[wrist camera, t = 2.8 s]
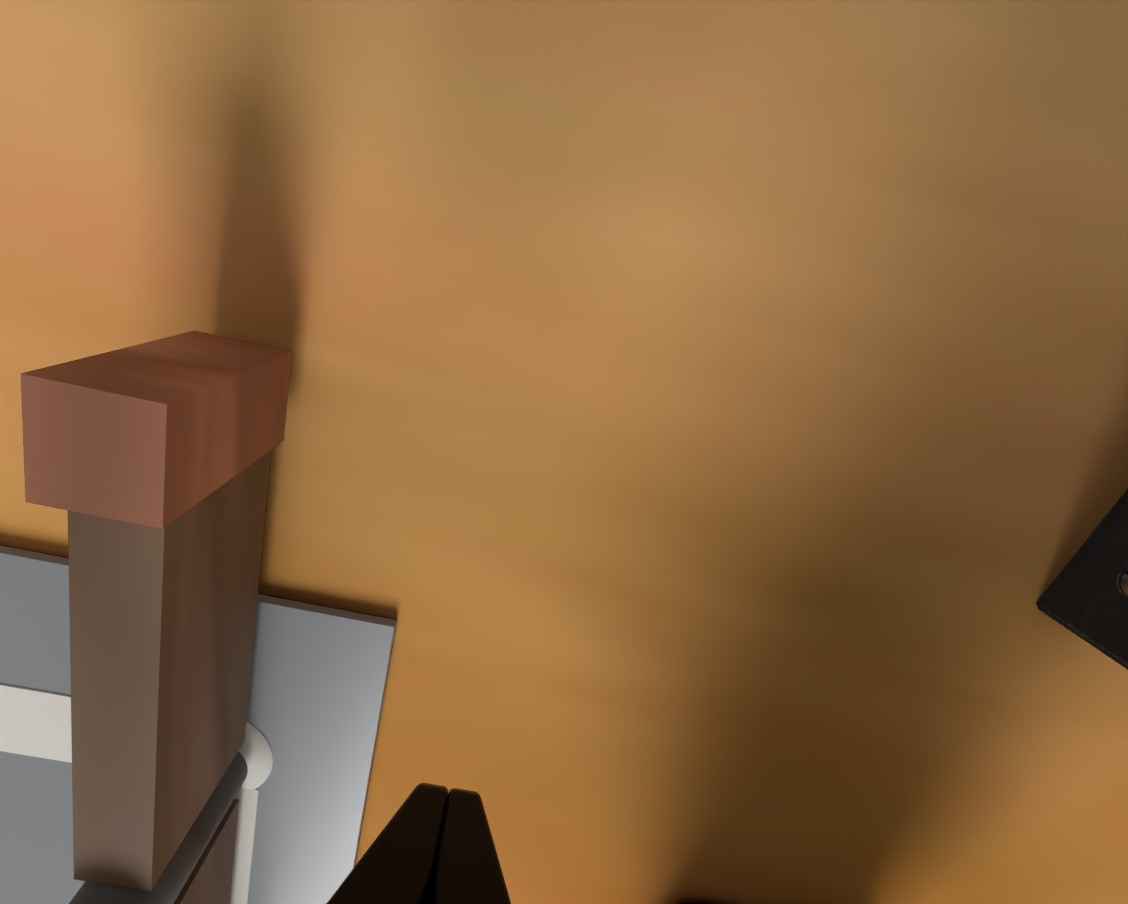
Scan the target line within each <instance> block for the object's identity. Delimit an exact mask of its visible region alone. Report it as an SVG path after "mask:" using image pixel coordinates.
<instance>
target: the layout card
mask: <svg viewBox="0 0 1128 904" xmlns="http://www.w3.org/2000/svg"><path fill="white" fill-rule="evenodd" d="M396 624H397V620H392V619H387V618H382V617H376V616H371V615H366V614H361V613H355V612H350V611H345V610H339V609H334V608H329V607H324V606H318V605H313V604H308V603H302V602H297V601H292V600H287V599H281V598H276V597H271V596H265V595H260V594H258V598H257V609H256V620H255V631H254V642H253V653H252V664H251V675H250V686H249V697H248V709H247V720H246V731H245V741H244V743H243V745H242V746H241V748H240V749H239V752H240V753H241V754H242V755H243V757H244V759H245V761H246V763H247V768H248V772H247V776H246V779H245V781H244V782H243V784H242V786H241V788H240V789H239V791H238V793H237V794H236V796H235V798H234V799H239V808H238V819H237V830H236V841H235V852H234V863H233V874H232V885H231V897H230V904H327V902H328V901H329V900H330V898H331V897H332V896H333V894H334V893H335V892H336V891H337V889H338V888H339V887H340V885H341V884H342V883H343V881H344V880H345V879H346V877H347V876H348V875H349V874H350V872H351V871H352V870H353V868H354V867H355V862H356V857H357V851H358V845H359V839H360V833H361V827H362V822H363V816H364V810H365V804H366V798H367V792H368V787H369V781H370V775H371V769H372V763H373V758H374V752H375V746H376V740H377V734H378V728H379V723H380V717H381V711H382V705H383V699H384V693H385V688H386V682H387V676H388V670H389V664H390V659H391V653H392V647H393V641H394V635H395V629H396ZM84 882H85V881H81V880H74V860H73V799H72V738H71V677H70V615H69V558H65V557H59V556H54V555H49V554H43V553H38V552H33V551H28V550H22V549H17V548H12V547H6V546H1V545H0V904H69V903H70V901H71V900H72V899H73V897H74V896H75V895H76V893H77V892H78V891H79V889H80V888H81V886H82V885H83V884H84Z"/></svg>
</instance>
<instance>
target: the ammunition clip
mask: <svg viewBox="0 0 1128 904" xmlns="http://www.w3.org/2000/svg"><path fill="white" fill-rule="evenodd" d="M1036 604H1037V607H1038V609H1039V610H1041V611H1042V612H1044V613H1045V614H1046V615H1048V616H1049V617H1051V618H1052V619H1054V620H1055V621H1057V622H1058V623H1060V624H1061V625H1063V626H1064V627H1066V628H1067V629H1069V630H1070V631H1072V632H1073V633H1074V634H1076V635H1077V636H1079V637H1080V638H1082V639H1083V640H1085V641H1086V642H1088V643H1089V644H1091V645H1092V646H1094V647H1095V648H1097V649H1098V650H1100V651H1101V652H1103V653H1104V654H1105V655H1107V656H1108V657H1110V658H1111V659H1113V660H1114V661H1116V662H1117V663H1119V664H1120V665H1122V666H1123V667H1125V668H1126V669H1128V489H1127V490H1126V492H1125V493H1124V494H1123V495H1122V497H1121V498H1120V499H1119V500H1118V502H1117V503H1116V504H1115V505H1114V507H1113V508H1112V509H1111V510H1110V512H1109V513H1108V514H1107V515H1106V517H1105V518H1104V519H1103V520H1102V522H1101V523H1100V524H1099V525H1098V526H1097V528H1096V529H1095V530H1094V531H1093V533H1092V534H1091V535H1090V536H1089V538H1088V539H1087V540H1086V541H1085V543H1084V544H1083V545H1082V546H1081V548H1080V549H1079V550H1078V551H1077V553H1076V554H1075V555H1074V556H1073V558H1072V559H1071V560H1070V561H1069V562H1068V564H1067V565H1066V566H1065V567H1064V569H1063V570H1062V571H1061V572H1060V574H1059V575H1058V576H1057V577H1056V579H1055V580H1054V581H1053V582H1052V584H1051V585H1050V586H1049V587H1048V589H1047V590H1046V591H1045V592H1044V594H1043V595H1042V596H1041V597H1040V599H1039V600H1038V601H1037V602H1036Z"/></svg>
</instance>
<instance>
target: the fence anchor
mask: <svg viewBox="0 0 1128 904" xmlns="http://www.w3.org/2000/svg"><path fill="white" fill-rule="evenodd" d="M247 772H248V768H247V763H246V761H245V759H244V757H243V755H242V754H241V753H240V752H239V751H238V753H237V754H236V756H235V757H234V759H233V761H232V762H231V764H230V765H229V767H228V769H227V770H226V772H225V774H224V775H223V777H222V778H221V780H220V782H219V783H218V785H217V786H216V788H215V790H214V791H213V793H212V794H211V796H210V798H209V799H208V801H207V802H206V804H205V806H204V807H203V809H202V810H201V812H200V814H199V815H198V817H197V818H196V820H195V822H194V823H193V825H192V826H191V828H190V830H189V831H188V833H187V834H186V836H185V838H184V839H183V841H182V842H181V844H180V846H179V847H178V849H177V851H176V852H175V854H174V855H173V857H172V859H171V860H170V862H169V863H168V865H167V867H166V868H165V870H164V871H163V873H162V875H161V876H160V878H159V879H158V881H157V883H156V884H155V886H154V887H153V889H152V891H148V890H142V889H135V888H128V887H121V886H115V885H108V884H101V883H95V882H88V881H85V882H84V884H83V885H82V886H81V888H80V889H79V891H78V892H77V893H76V895H75V896H74V897H73V899H72V900H71V901H70V903H69V904H230V897H231V885H232V874H233V863H234V852H235V841H236V830H237V819H238V808H239V799H234V798H235V796H236V794H237V793H238V791H239V789H240V788H241V786H242V784H243V782H244V781H245V779H246V776H247Z"/></svg>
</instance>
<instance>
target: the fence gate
mask: <svg viewBox="0 0 1128 904" xmlns="http://www.w3.org/2000/svg"><path fill="white" fill-rule="evenodd" d="M291 357H292V352H289V351H284V350H280V349H275V348H271V347H266V346H262V345H257V344H253V343H248V342H244V341H239V340H235V339H230V338H225V337H221V336H216V335H212V334H207V333H203V332H198V331H192V332H188V333H184V334H180V335H176V336H171V337H167V338H163V339H159V340H155V341H151V342H147V343H143V344H139V345H135V346H131V347H127V348H123V349H119V350H115V351H111V352H106V353H102V354H98V355H94V356H90V357H86V358H82V359H78V360H74V361H70V362H66V363H62V364H58V365H54V366H50V367H46V368H42V369H37V370H33V371H29V372H25V373H21V394H22V420H23V446H24V471H25V497H26V502H28V503H33V504H38V505H44V506H49V507H54V508H59V509H64V510H68V554H69V615H70V677H71V738H72V799H73V860H74V880H81V881H88V882H95V883H101V884H108V885H115V886H121V887H128V888H135V889H142V890H148V891H152V889H153V887H154V886H155V884H156V883H157V881H158V879H159V878H160V876H161V875H162V873H163V871H164V870H165V868H166V867H167V865H168V863H169V862H170V860H171V859H172V857H173V855H174V854H175V852H176V851H177V849H178V847H179V846H180V844H181V842H182V841H183V839H184V838H185V836H186V834H187V833H188V831H189V830H190V828H191V826H192V825H193V823H194V822H195V820H196V818H197V817H198V815H199V814H200V812H201V810H202V809H203V807H204V806H205V804H206V802H207V801H208V799H209V798H210V796H211V794H212V793H213V791H214V790H215V788H216V786H217V785H218V783H219V782H220V780H221V778H222V777H223V775H224V774H225V772H226V770H227V769H228V767H229V765H230V764H231V762H232V761H233V759H234V757H235V756H236V754H237V753H238V751H239V749H240V748H241V746H242V745H243V743H244V741H245V731H246V720H247V709H248V697H249V686H250V675H251V664H252V653H253V642H254V631H255V620H256V609H257V598H258V587H259V576H260V565H261V554H262V543H263V532H264V521H265V509H266V498H267V487H268V476H269V465H270V454H271V449H273V448H274V447H275V446H277V445H278V444H279V443H281V442H282V441H283V440H284V430H285V419H286V409H287V398H288V388H289V378H290V367H291Z"/></svg>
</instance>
